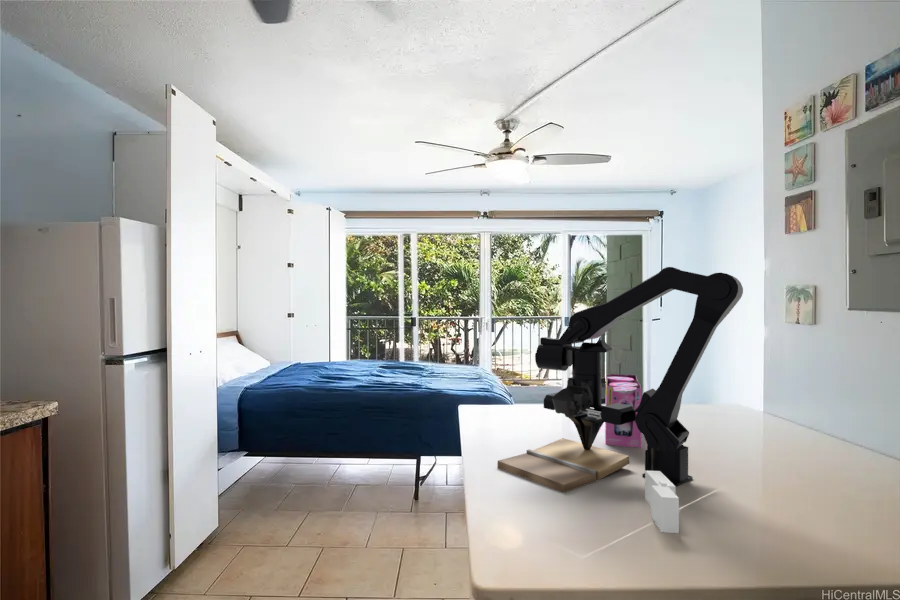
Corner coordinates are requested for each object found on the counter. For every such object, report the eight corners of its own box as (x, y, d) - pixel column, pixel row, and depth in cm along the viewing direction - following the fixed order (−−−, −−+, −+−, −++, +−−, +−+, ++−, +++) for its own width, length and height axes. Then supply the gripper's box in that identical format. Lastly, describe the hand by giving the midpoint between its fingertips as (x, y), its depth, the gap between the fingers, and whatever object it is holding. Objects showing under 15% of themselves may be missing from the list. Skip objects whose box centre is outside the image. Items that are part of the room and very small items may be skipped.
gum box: (642, 450, 108) (642, 388, 108) (604, 447, 111) (605, 386, 111) (636, 425, 131) (636, 374, 131) (605, 423, 134) (605, 373, 134)
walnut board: (595, 481, 88) (595, 470, 88) (563, 493, 83) (563, 480, 83) (529, 459, 101) (529, 449, 101) (497, 468, 95) (497, 457, 95)
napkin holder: (640, 495, 83) (640, 461, 84) (713, 515, 76) (713, 478, 76) (599, 523, 73) (599, 484, 73) (679, 550, 65) (679, 506, 65)
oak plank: (629, 463, 95) (629, 456, 95) (599, 479, 89) (598, 471, 89) (563, 444, 108) (562, 438, 108) (532, 457, 101) (532, 450, 101)
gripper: (525, 371, 102) (526, 446, 103) (602, 384, 88) (603, 471, 88) (560, 366, 109) (560, 436, 109) (637, 377, 94) (637, 457, 95)
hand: (587, 449), depth 100 cm, fingers closed, pressing on oak plank
